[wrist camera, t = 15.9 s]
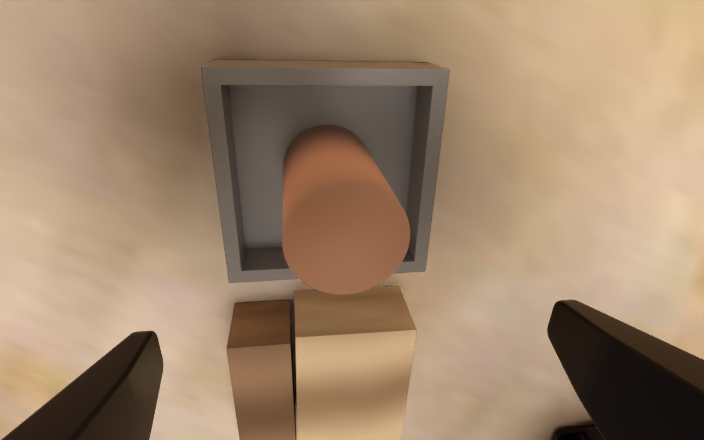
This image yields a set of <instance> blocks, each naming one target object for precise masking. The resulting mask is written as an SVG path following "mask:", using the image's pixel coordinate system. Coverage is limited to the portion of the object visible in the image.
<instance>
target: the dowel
mask: <svg viewBox="0 0 704 440" xmlns="http://www.w3.org/2000/svg"><path fill="white" fill-rule="evenodd" d="M409 242H410V224H409V221H408V217H407V215H406V212H405V210H404V209H403V207H402V205H401V204H400V202H399V200H398V199H397V197H396V196H395V194H394V192H393V191H392V189H391V187H390V186H389V184H388V183H387V181H386V179H385V178H384V176H383V174H382V173H381V171H380V170H379V168H378V166H377V165H376V163H375V161H374V160H373V158H372V157H371V155H370V153H369V152H368V150H367V148H366V147H365V145H364V144H363V142H362V141H361V140H360V138H359V137H358V136H356V135H355V134H354V133H353V132H351V131H350V130H348V129H346V128H343V127H340V126H336V125H319V126H315V127H312V128H309V129H307V130H305V131H304V132H302V133H301V134H299V135H298V136H297V137H296V138H295V139H294V140H293V141H292V142H291V144H290V146H289V147H288V149H287V151H286V154H285V157H284V163H283V222H282V247H283V253H284V257H285V260H286V262H287V264H288V266H289V268H290V269H291V271H292V272H293V273H294V274H295V276H296V277H297V278H298V279H300V280H301V281H302V282H303V283H305V284H306V285H308V286H309V287H312V288H314V289H316V290H319V291H321V292H325V293H330V294H353V293H358V292H362V291H365V290H368V289H370V288H373V287H375V286H377V285H378V284H380V283H382V282H383V281H385V280H386V279H387V278H389V277H390V276H391V275H392V274H393V273H394V272H395V271H396V269H397V268H398V267H399V266H400V264H401V263H402V261H403V259H404V257H405V255H406V253H407V250H408V247H409Z"/></svg>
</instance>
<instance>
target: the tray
mask: <svg viewBox="0 0 704 440" xmlns="http://www.w3.org/2000/svg"><path fill="white" fill-rule="evenodd" d="M201 71H202V78H203V86H204V94H205V102H206V109H207V117H208V125H209V133H210V140H211V148H212V156H213V164H214V171H215V179H216V187H217V194H218V202H219V210H220V218H221V225H222V233H223V241H224V249H225V256H226V264H227V272H228V280H229V283H238V282H254V281H271V280H288V279H298V278H297V277H296V276H295V274H294V273H293V272H292V271H291V269H290V268H289V266H288V264H287V262H286V260H285V257H284V253H283V247H282V222H283V163H284V157H285V154H286V151H287V149H288V147H289V146H290V144H291V142H292V141H293V140H294V139H295V138H296V137H297V136H298V135H299V134H301V133H302V132H304V131H305V130H307V129H309V128H312V127H315V126H319V125H336V126H340V127H343V128H346V129H348V130H350V131H351V132H353V133H354V134H355V135H356V136H358V137H359V138H360V140H361V141H362V142H363V144H364V145H365V147H366V148H367V150H368V152H369V153H370V155H371V157H372V158H373V160H374V161H375V163H376V165H377V166H378V168H379V170H380V171H381V173H382V174H383V176H384V178H385V179H386V181H387V183H388V184H389V186H390V187H391V189H392V191H393V192H394V194H395V196H396V197H397V199H398V200H399V202H400V204H401V205H402V207H403V209H404V210H405V212H406V215H407V217H408V221H409V224H410V242H409V247H408V250H407V253H406V255H405V257H404V259H403V261H402V263H401V264H400V266H399V267H398V268H397V269H396V271H395V272H394V273H406V272H423V271H425V270H426V261H427V253H428V245H429V237H430V228H431V220H432V212H433V204H434V195H435V187H436V179H437V171H438V163H439V154H440V146H441V138H442V130H443V121H444V113H445V105H446V97H447V88H448V80H449V72H450V70H449V69H446V68H443V67H440V66H437V65H434V64H431V63H427V62H376V61H297V60H219V59H214V60H213V61H211V62H209V63H207V64H206V65H204V66H202V67H201Z"/></svg>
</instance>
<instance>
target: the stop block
mask: <svg viewBox="0 0 704 440" xmlns="http://www.w3.org/2000/svg"><path fill="white" fill-rule="evenodd" d="M227 355H228V362H229V369H230V376H231V383H232V389H233V396H234V403H235V410H236V417H237V424H238V431H239V438H240V440H297V437H296V409H295V390H294V371H293V351H292V332H291V313H290V300H279V301H264V302H249V303H235V306H234V311H233V317H232V322H231V328H230V333H229V339H228V344H227Z"/></svg>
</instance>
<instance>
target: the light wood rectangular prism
mask: <svg viewBox="0 0 704 440" xmlns="http://www.w3.org/2000/svg"><path fill="white" fill-rule="evenodd" d="M294 309H295V358H296V407H297V440H401V435H402V428H403V421H404V415H405V408H406V401H407V394H408V387H409V380H410V373H411V367H412V360H413V353H414V346H415V339H416V332H417V329H416V327H415V324H414V322H413V319H412V317H411V315H410V312H409V310H408V307H407V305H406V303H405V300H404V298H403V295H402V293H401V291H400V288H399V286H391V287H373V288H370V289H368V290H365V291H362V292H358V293H353V294H330V293H325V292H321V291H319V290H304V291H294Z"/></svg>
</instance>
